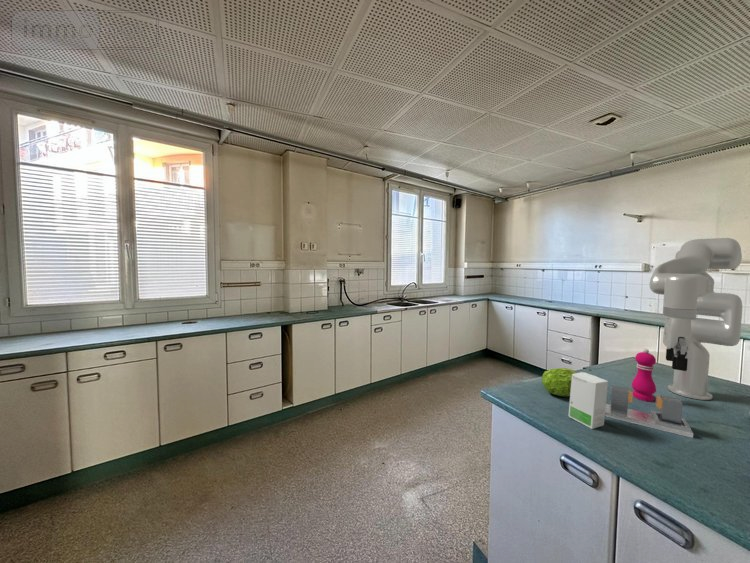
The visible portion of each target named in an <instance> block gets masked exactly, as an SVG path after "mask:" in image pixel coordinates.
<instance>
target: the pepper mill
mask: <svg viewBox="0 0 750 563" xmlns="http://www.w3.org/2000/svg"><path fill="white" fill-rule="evenodd" d="M634 359H635V361H636V362H637V363H636V368H637V373H636V375H635V377H634V378H633V379H632V382H631V388H632V389H633V391H632V393H633V398H635V399H638V400H640V401H643V402H654V400H655V396H654V394H655V393H656V392H657V387H656V384H655V382H654V379H653V376H652V373H653V371H654V367H655V366H654V365H655V364H656V362H657V359H656V357H655V356H654V355H653V354H652V353H650V351H649V349H648V348H644V349H643V350H642V352H641V351H640V352H638V353H636V355H635V358H634Z"/></svg>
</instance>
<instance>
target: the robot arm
mask: <svg viewBox="0 0 750 563" xmlns="http://www.w3.org/2000/svg"><path fill="white" fill-rule="evenodd" d="M742 255H743V254H742V249H741V245H740V243H739V242H738V241H737V240H736V239H734V238H730V237H716V238H715V237H714V238H698V239H690V240H688V241H685V243H683V244H682V245H681V247H680V249H679V250H678V251H677V252H675V255H674V256H675V257H674V258H673V259H670V260H668V261H665V262H663V263H662V264H659V265H658V266H656V268H655V269H654V270H653V272H652V275H651V277H650V279H649V290H650V291H651V292H652V293H653V294H656V295H663V308H662V317H663V318H665V321H664V326H663V327H664V328H663V335H662V343H663V344H664V346H665V347H666V348H665V350H666V351H665V360H666V361H668V362H672V363H671V368H672V369H673V381H672V383H671V384H669V385H667V389H668V391H669V392H672V393H674V394H676V395H679V396H682V397H686V398H689V399H694V400H701V401H711V400H713V395H712V393H710V392H708V382H709V381H708V380H709V369H710V352H709V351H708V349H707V348H706V347H705V345H703V344H710V345H711V344H712V345H718V346H725V347H734V346H737V345H738V344H739V342H740V339H741V334H742V332H741V331H742V322H743V321H742V318H743V300H742V299H741V297H740V296H739V295H737V294H734V293H727V292H715V291H714V288H715V280H714V278H713V277H712V275H710V274H709V272H707V270H734V269H736V268H738V267H740V265H741V263H742V259H743V257H742ZM697 316H707V317H714V318H715V317H716V318H717V317H718V318H721V319H722V320H718V319H709V318H702V317H700V318H699V317H697Z"/></svg>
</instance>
